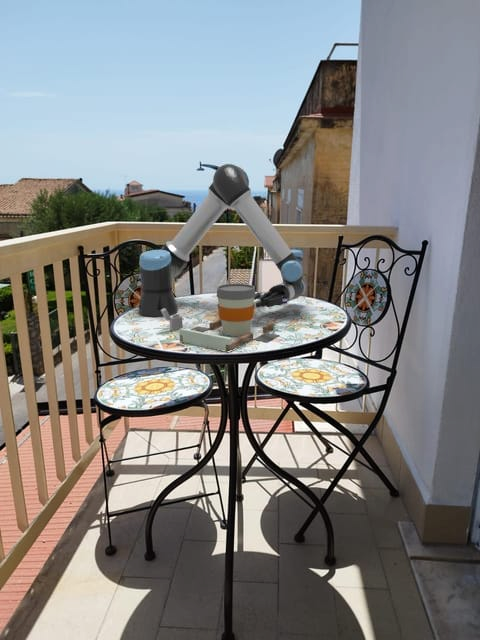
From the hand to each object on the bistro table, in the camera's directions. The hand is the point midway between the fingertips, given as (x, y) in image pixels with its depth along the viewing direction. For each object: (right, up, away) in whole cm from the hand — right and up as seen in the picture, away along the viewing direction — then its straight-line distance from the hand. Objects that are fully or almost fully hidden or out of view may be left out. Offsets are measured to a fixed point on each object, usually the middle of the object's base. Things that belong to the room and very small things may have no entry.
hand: (249, 306), depth 143 cm
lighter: (-26, -8, 0) cm, 27 cm away
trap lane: (-6, -9, -5) cm, 12 cm away
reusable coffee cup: (-4, -9, -2) cm, 10 cm away
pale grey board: (-13, -12, -16) cm, 24 cm away
